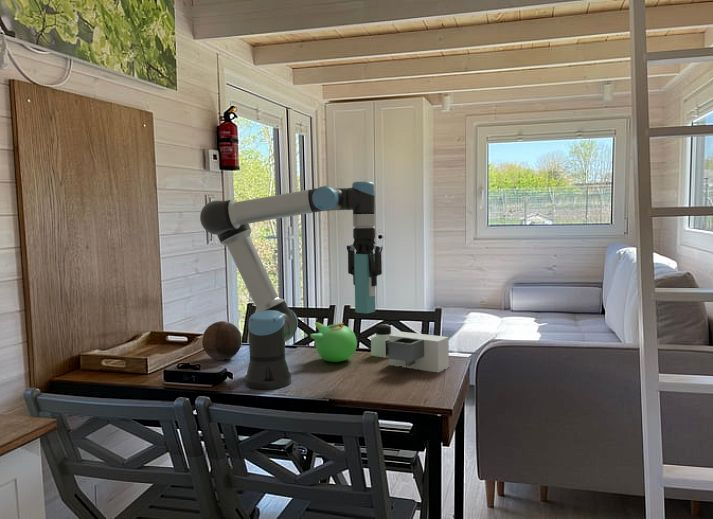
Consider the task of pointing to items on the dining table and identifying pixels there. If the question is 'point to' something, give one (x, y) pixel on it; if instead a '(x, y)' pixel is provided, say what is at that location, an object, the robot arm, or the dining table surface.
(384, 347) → the medicine bottle
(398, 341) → the box
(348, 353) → the green round body
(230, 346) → the wooden sphere
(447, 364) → the stand
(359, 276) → the rail post
